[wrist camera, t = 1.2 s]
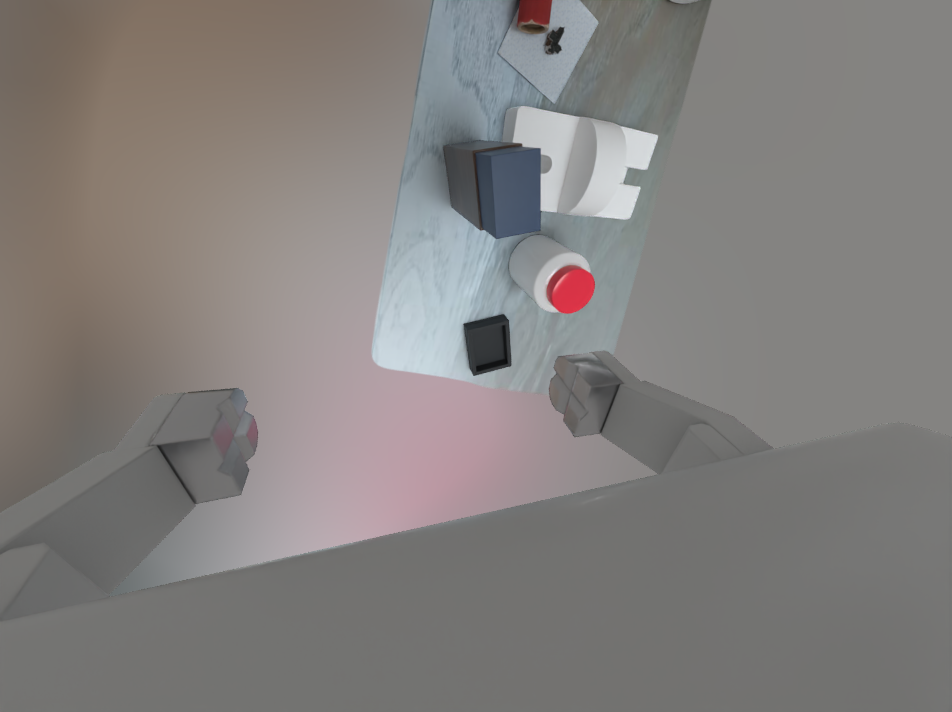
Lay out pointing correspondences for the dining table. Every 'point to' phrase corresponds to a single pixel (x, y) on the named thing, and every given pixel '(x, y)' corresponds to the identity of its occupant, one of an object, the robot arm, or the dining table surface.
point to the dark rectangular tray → (488, 344)
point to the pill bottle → (551, 274)
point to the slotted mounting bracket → (581, 160)
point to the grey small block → (550, 47)
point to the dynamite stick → (534, 16)
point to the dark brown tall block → (468, 176)
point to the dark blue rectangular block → (510, 190)
